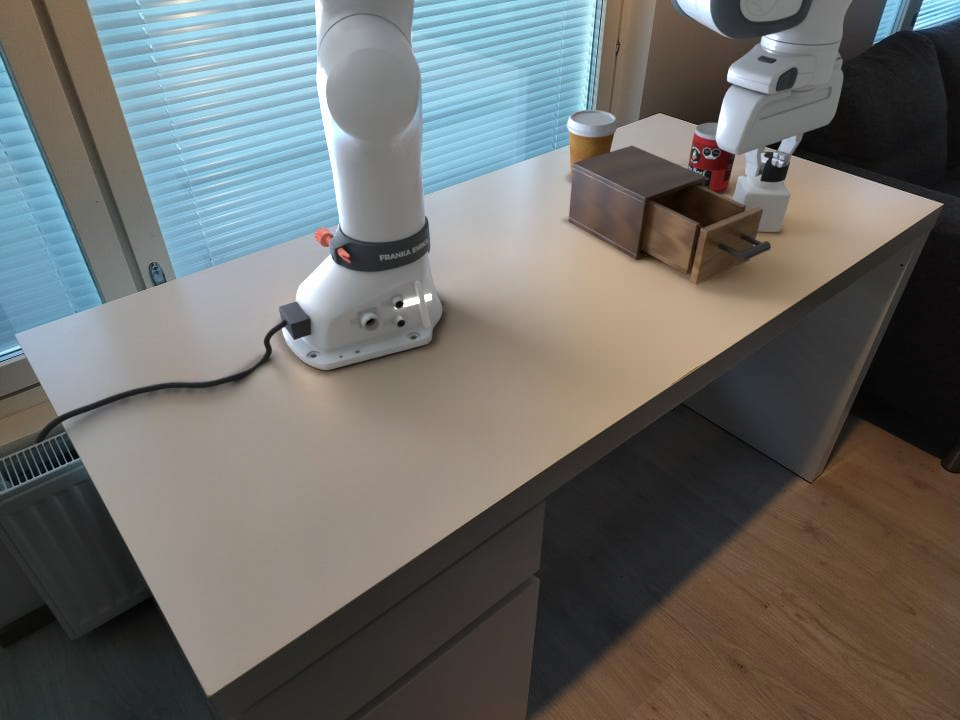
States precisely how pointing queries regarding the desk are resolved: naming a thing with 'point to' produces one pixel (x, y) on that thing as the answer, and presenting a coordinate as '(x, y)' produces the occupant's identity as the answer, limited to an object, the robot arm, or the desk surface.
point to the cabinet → (623, 194)
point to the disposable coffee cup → (590, 134)
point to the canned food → (710, 158)
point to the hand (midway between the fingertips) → (766, 170)
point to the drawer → (701, 232)
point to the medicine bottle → (765, 194)
